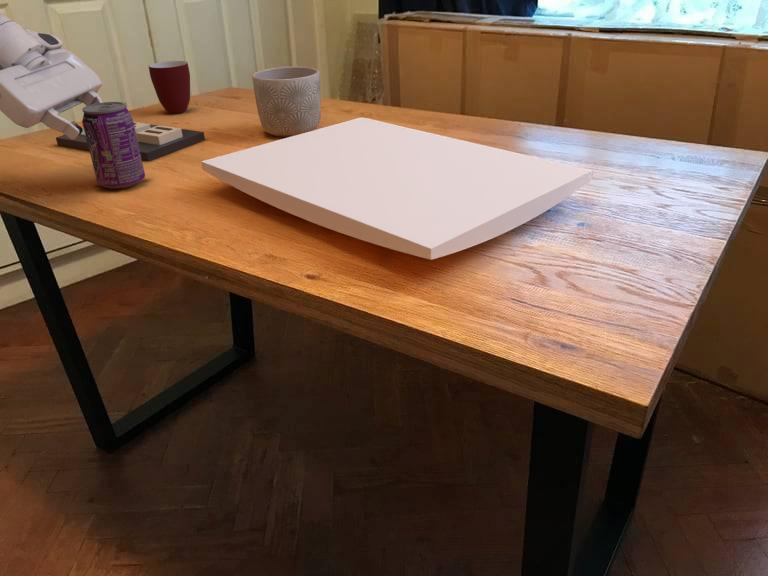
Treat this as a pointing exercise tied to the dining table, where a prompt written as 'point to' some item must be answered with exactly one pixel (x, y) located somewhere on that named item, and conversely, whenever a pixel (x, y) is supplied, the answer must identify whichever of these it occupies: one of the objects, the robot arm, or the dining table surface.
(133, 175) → the beverage can
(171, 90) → the mug
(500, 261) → the dining table surface
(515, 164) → the board
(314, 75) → the planter
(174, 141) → the letter board
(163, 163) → the dining table surface
